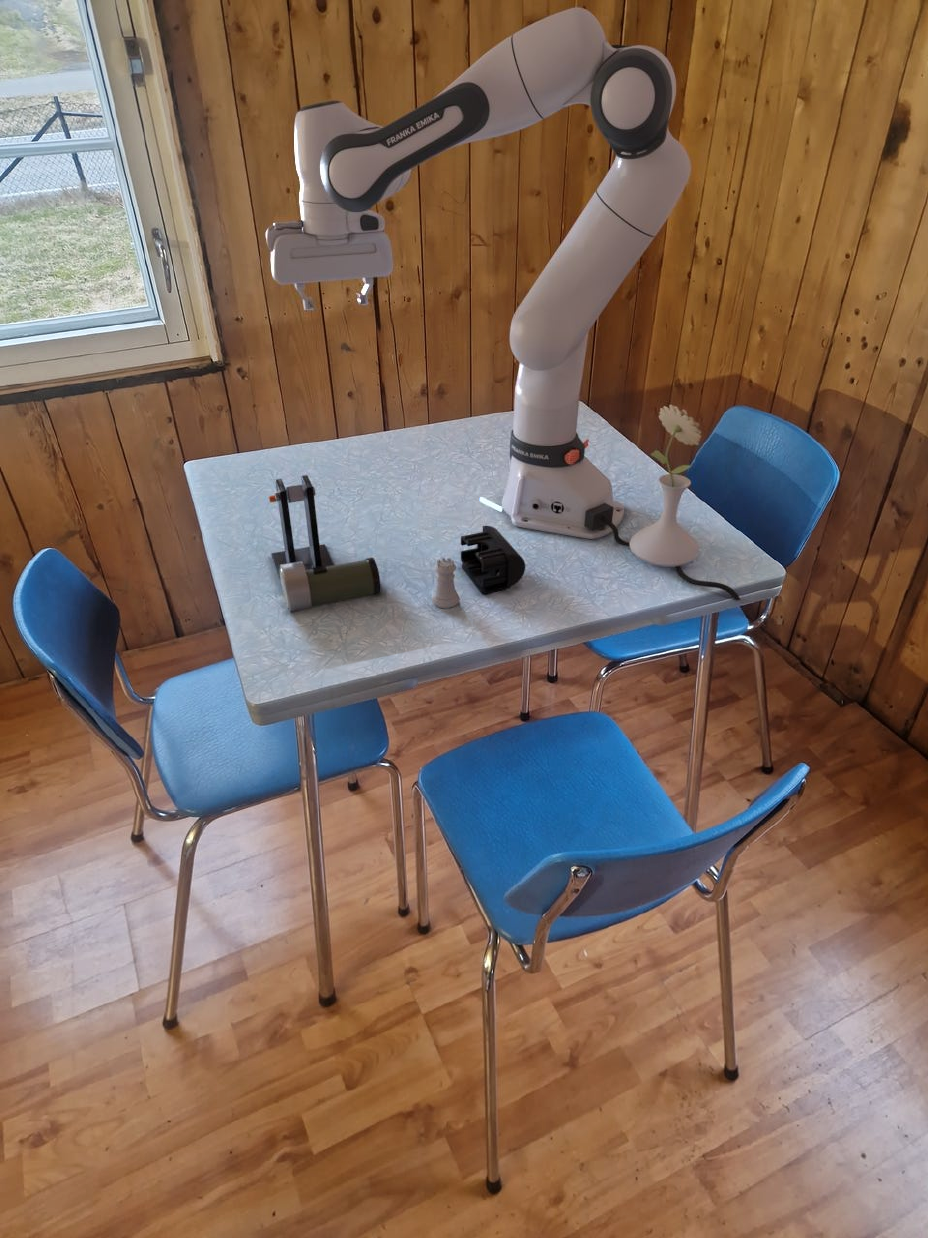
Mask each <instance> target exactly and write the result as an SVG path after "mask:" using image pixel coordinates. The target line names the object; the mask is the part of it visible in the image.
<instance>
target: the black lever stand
mask: <svg viewBox="0 0 928 1238" xmlns="http://www.w3.org/2000/svg"><path fill="white" fill-rule="evenodd" d="M300 478H301V479H300V480H301V485H302V488H303V493H304V498H305V500H304V501H303V504H304V511H305V520H306V521H305V522H306V529H307V537H308V544H309V546H306V547H305V546H304V547H300V548H295V544H294V537H293V529H292V523H291V515H290V507H289V502H288V499H287V491H286V486H285V483H284V481H283V479H282V478H277V479H274V482H275V490H276V491H275V492H274V495H275V499H276V501H277V504H278V510H279V518H280V525H281V532H282V539H283V547H284V550H283V551H277V552H271V553H270V555H271V560H272V562H273V564H274V568H275V571H276V574H277V577H278V581H279V584H280V586H281V587H282V584H281V578H280V565H283V564H288V563H294V562H300V561H302V562H303V565H304V567H305V570H311V569H312V568H314V567H320V566H326V567H328V566H333V565H334V563H333V561H332V559H331V555H330V553H329V551H328V549H327V547H326V544H325V543H324V544H323V543H322V544H320V537H319V529H318V521H317V520H318V519H317V512H316V511H317V510H316V501H315V496H317V495H316V494H317V493H316V488H315V486H313V484H312V481H311V479H310V478H309V475H308V474H306V475H301V476H300Z"/></svg>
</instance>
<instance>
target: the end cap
mask: <svg viewBox="0 0 928 1238" xmlns="http://www.w3.org/2000/svg"><path fill="white" fill-rule="evenodd" d="M460 545H461V546H467V547H471V546H476V547H474V548H471V549H470V548H469V549H466V550H461V551H460V561H461V569H462V570H463V572H464V573H465V574H466V576H467V578H469V580H470V581H471V582H472V583H473V585H474V586H475V588H476V589H477V590H478V591H479V593H480V594H481V595H483V596H487V595H491V594H495V593H496V594H497V593H500V592H505V591H507V590H509V589H510V588H511V587H513V586H515V585H516V584H518V583H519V582H520V581H521V580H522V578H523V577H524V574H525V572H526V562H525V560H524V558H523V557H522V556H521V554H519V553H518V552H517V550H516V549H515V548H514V547H513V545H512V544H511V543H510V542H509V541H508V540H507V539H506V538H505V537H504V536H503V534H502V533H500V531H499V530H498V529H497V528H496V527H494V526H492V525H483V526H482V531H480V532H475V533H470V534H466V535H462V536H460Z"/></svg>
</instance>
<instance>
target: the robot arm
mask: <svg viewBox="0 0 928 1238" xmlns="http://www.w3.org/2000/svg"><path fill="white" fill-rule="evenodd" d="M676 96H677V77H676V72H675V70H674V67H673V65H672V63H671V62H670V60H669V59H668V58H667V57H666V56H665V54H664V53H662V52H661V51H659V49H657V48H654V47H651V46H648V45H643V44H635V45H622V44H612V45H611V43H609V41H608V39H607V37H606V34H605V31H604V29H603V27H602V25H601V23H600V21H599V20H598V19H597V17H596V16H595V15H594V14H593V13H592V12H591V11H589V10H588V9H586V8H583V7H580V6H579V7H578V6H577V7H571V8H568V9H565V10H562V11H559V12H556V13H554V14H552V15H548V16H546V17H543V18H541V19H540V20H537V21H535V22H533V23H531V24H529V25H528V26H525V27H523V28H522V29H520V30H518V31H516V32H514V33H512V34H511V35H509V36H508V37H507V38H505V39H503V40H502V41H500V42H499V43H497V44H496V45H495V46H493V47H492V48H490V49H489V50H488V51H487V52H485V53H484V54H483V55H482V56H481V57H479V58H478V59H477V60H476V61H475V62H474V63H473V64H472V65H470V66H469V67H468V68H467V69H466V70H465V71H464V72H463V73H462V74H460V75H459V76H458V77H457V78H456V79H455V80H453V81H452V82H451V83H450V84H449V85H448V86H446V87H445V88H444V89H443V90H442V91H441V92H439V93H438V94H437V95H436V96H434V97H432V98H431V99H430V100H428V101H427V102H425V103H423V104H422V105H420V106H418V107H417V108H415V109H413V110H411V111H409V112H408V113H406V114H404V115H402V116H401V117H399V118H397V119H395V120H393V121H392V122H390V123H388V124H386V125H385V126H381V125H378V124H376V123H373V122H371V121H369V120H367V119H365V118H364V117H361V116H360V115H358V114H357V113H355V112H354V111H352V110H351V109H350V108H349V107H348V106H347V105H346V104H345V103H344V102H343V101H340V100H327V101H322V102H317V103H314V104H309V105H305V106H303V107H302V108H300V109H299V110H298V111H297V112H296V114H295V117H294V124H293V125H294V127H293V141H294V142H293V144H294V158H295V168H296V172H297V175H298V178H299V185H300V186H299V187H300V188H299V195H298V197H299V198H298V199H299V211H300V220H299V219H298V220H290V221H276V222H274V223H273V224H272V225H270V226H269V227H268V228H267V229H266V232H265V239H266V245H267V248H268V250H269V251H270V268H271V276H272V279H273V280H274V281H275V282H276V283H277V284H278V285H280V286H282V285H283V286H285V285H294V288H295V290H296V291H297V292H298V294H299V296H300V297H301V298H302V305H303V310H304V311H314V310H315V306H314V298H312V296H307V295H306V294H305V292H304V290H306V284H308V283H320V282H333V281H345V280H358V279H362V282H363V283H364V286H363V288H362V289H361V292H356V298H357V304H358V305H359V306H369V294H370V292H371V290H372V288H373V286H374V278H381V277H389V276H391V274H392V273H393V271H394V257H393V250H392V244H391V240H390V237H389V236H388V234H387V233H386V232H384V230H385V228H386V221H385V218H384V217H383V216H382V215H381V214H380V213H378V212H377V211H374V210H372V209H371V208H373V207H374V206H375V205H377V204H378V203H380V202H382V201H385V200H386V199H388V198H390V197H393V196H394V195H396V194H397V193H399V192H400V191H401V190H402V189H404V188H405V187H406V186H407V184H408V183H409V181H410V179H411V177H412V173H413V169H415V168H416V167H418V166H419V165H422V164H423V163H425V162H427V161H429V160H431V159H433V158H434V157H436V156H438V155H440V154H441V153H443V152H446V151H448V150H450V149H452V148H456V147H458V146H462V145H465V144H469V143H473V142H478V141H479V142H480V141H484V140H489V139H493V138H497V137H501V136H505V135H509V134H513V133H515V132H518V131H521V130H523V129H526V128H529V127H530V126H533V125H536V124H537V123H539V122H542V121H543V120H545V119H547V118H549V117H551V116H552V115H553V114H555V113H557V112H559V111H561V110H563V109H565V108H567V107H570V106H572V105H577V104H578V105H579V104H583V105H586V106H589V107H590V112H591V115H592V119H593V121H594V123H595V125H596V127H597V129H598V131H599V132H600V134H601V135H602V136H603V139H605V140H606V142H607V144H608V145H609V147H610V148H611V150H612V152H613V153H614V155H615V158H614V160H613V162H612V164H611V167H610V169H609V170H608V172H607V174H606V175H605V176H604V178H603V180H602V181H601V182H600V183H599V185H598V187H597V188H596V190H595V191H594V193H593V194H592V196H591V198H590V199H589V201H588V202H587V204H586V205H585V207H584V208H583V209H582V212H581V213H580V214H579V216H578V218H577V219H576V221H575V222H574V223H573V225H572V227H571V228H570V230H569V231H568V233H567V234H566V236H565V238H564V239H563V240H562V241H561V243H560V245H559V246H558V248H557V249H556V251H555V252H554V254H553V255H552V257H551V258H550V260H549V261H548V263H547V264H546V266H545V267H544V269H542V271H541V272H540V274H539V276H538V278H537V279H536V280H535V282H534V283H533V285H532V286H531V288H530V289H529V291H528V292H527V294H526V295H525V297H524V298H523V300H522V301H521V303H520V304H519V306H518V307H517V308H516V311H515V312H514V314H513V317H512V319H511V324H510V328H509V347H510V350H511V352H512V354H513V357H515V359H516V360H517V361H518V362H519V365H518V370H517V371H518V372H517V377H516V382H515V386H514V401H513V426H512V427H513V429H512V430H511V432H510V438H509V459H510V466H509V473H508V478H507V482H506V487H505V491H504V493H503V497H502V499H501V504H500V505H498V504H496V503H495V502H492V501H491V500H488V499H486V498H485V497H482V496H480V497H479V502H481V503H482V504H484V505H486V506H488V507H491V508H492V509H494V510H496V511H499V512H502V511H504V512H505V513H506V514H507V515H508V516H509V517H510V521H511V523H512V525H513V526H515V527H518V528H524V529H529V530H534V531H535V530H536V531H542V532H547V533H552V534H558V535H563V536H564V535H565V536H570V537H576V538H577V537H578V538H583V539H588V540H589V539H590V540H595V539H596V540H597V539H600V538H602V537H605V536H607V535H609V534H610V533H613V539H614V540H615V542H616V543H618V544H619V545H621V546H626V547H630V545H629V543H630V542H628V541H625V540H623V539H622V538H621V537H620V536H619V530H618V528H617V527H618V526H619V525H620V524H621V522H622V521H623V519H624V516H625V507H624V505H623V503H621V502H619V501H616V500H614V493H613V486H612V482H611V480H610V479H609V478H608V477H607V476H606V475H605V473H603V472H602V471H601V470H599V468H597V466H596V465H594V464H593V462H592V461H590V460H589V459H588V458H587V457H586V456H585V454H586V453H585V451H586V448H588V446H589V440H590V439H589V438H587V439H586V440H585V441H584V442H583V441H582V440H581V438H580V436H579V433H578V432H577V427H578V418H579V417H578V416H579V407H580V395H581V388H582V387H581V386H582V380H583V374H584V367H585V360H586V353H587V347H588V339H589V332H590V330H591V328H592V327H593V326H594V325H595V322H597V320H598V319H599V317H600V315H601V314H602V313H603V311H604V309H605V308H606V307H607V305H608V304H609V302H610V300H611V299H612V298H613V296H614V295H615V294H616V293H617V291H618V289H619V287H620V286H621V285H622V284H623V282H624V281H625V279H626V278H627V277H628V275H629V273H630V272H631V271H632V269H633V268H634V266H635V265H636V264H637V263H638V261H639V260H640V258H641V257H642V256H643V254H644V253H645V252H646V250H647V249H648V248H649V246H650V245H651V243H652V242H653V240H654V239H655V238H656V236H657V235H658V233H659V232H660V230H661V229H662V228H663V227H664V225H665V223H666V222H667V220H668V219H669V217H670V215H671V214H672V212H673V210H674V209H675V207H676V205H677V203H678V201H679V199H680V198H681V196H682V194H683V192H684V191H685V188H686V186H687V183H688V182H689V179H690V176H691V173H692V163H691V160H690V159H691V158H690V156H689V154H688V153H687V150H686V149H685V147H684V145H683V144H682V143H681V142H680V141H679V140H677V139H676V138H675V137H673V135H672V134H671V132H670V130H669V121H670V117H671V114H672V111H673V108H674V105H675V102H676V98H677V97H676ZM674 568H675V571H676V573H677V574H678V576H679V577H680V578H681V579H682V580H683V581H685V582H686V583H688V584H691V585H694V586H700V587H708V588H714V589H715V588H716V589H720V590H722V591H724V592H726V593H728V594H729V595H730V596H731V598H732V599H733V600H735V601H740V600H741V598H740V596H739V595H738V593H737V592H736V591H735V590H734V589H733V588H732V587H730V586H729V585H726V584H724V583H722V582H716V581H707V580H698V579H695V578H692V577H690V576H689V575H687V574H686V573H685V572H684V571H683V570H682V567H681V566H675V567H674Z"/></svg>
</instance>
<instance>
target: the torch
mask: <svg viewBox="0 0 928 1238" xmlns="http://www.w3.org/2000/svg"><path fill="white" fill-rule="evenodd" d="M280 578H281V583H280V585H281V584H282V586H281V589H282V593H283V594H282V595H283V598H284V601H285V604H286V608H287V609H288V610H289V612H290V613H291V612H296V611H301V610H307V609H312V607H317V606H320V605H324V604H325V605H326V604H331V603H336V602H341V601H346V600H347V601H348V600H352V599H356V598H357V599H358V598H363V597H368V596H373V595H378V594H381V589H382V588H381V587H382V585H381V577H380V573H379V568H378V565H377V562H376V560H375V557H372V556H371V557H366V558H365V559H362V560H357V561H351V562H345V563H341V564H333V566H328V567H326V566H320V567H314V568H312V569H311V570H305V567H304V565H303V562H302V561H300V562H294V563H288V564H283V565H280Z"/></svg>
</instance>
